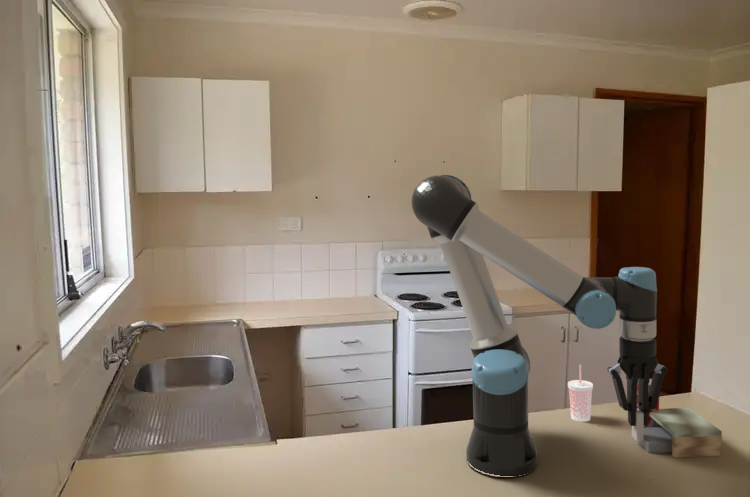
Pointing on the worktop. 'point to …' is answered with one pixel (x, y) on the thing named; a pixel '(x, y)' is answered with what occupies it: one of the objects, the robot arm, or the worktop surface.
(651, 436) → the slate tile
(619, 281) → the robot arm
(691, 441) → the shelf
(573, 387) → the beverage cup
